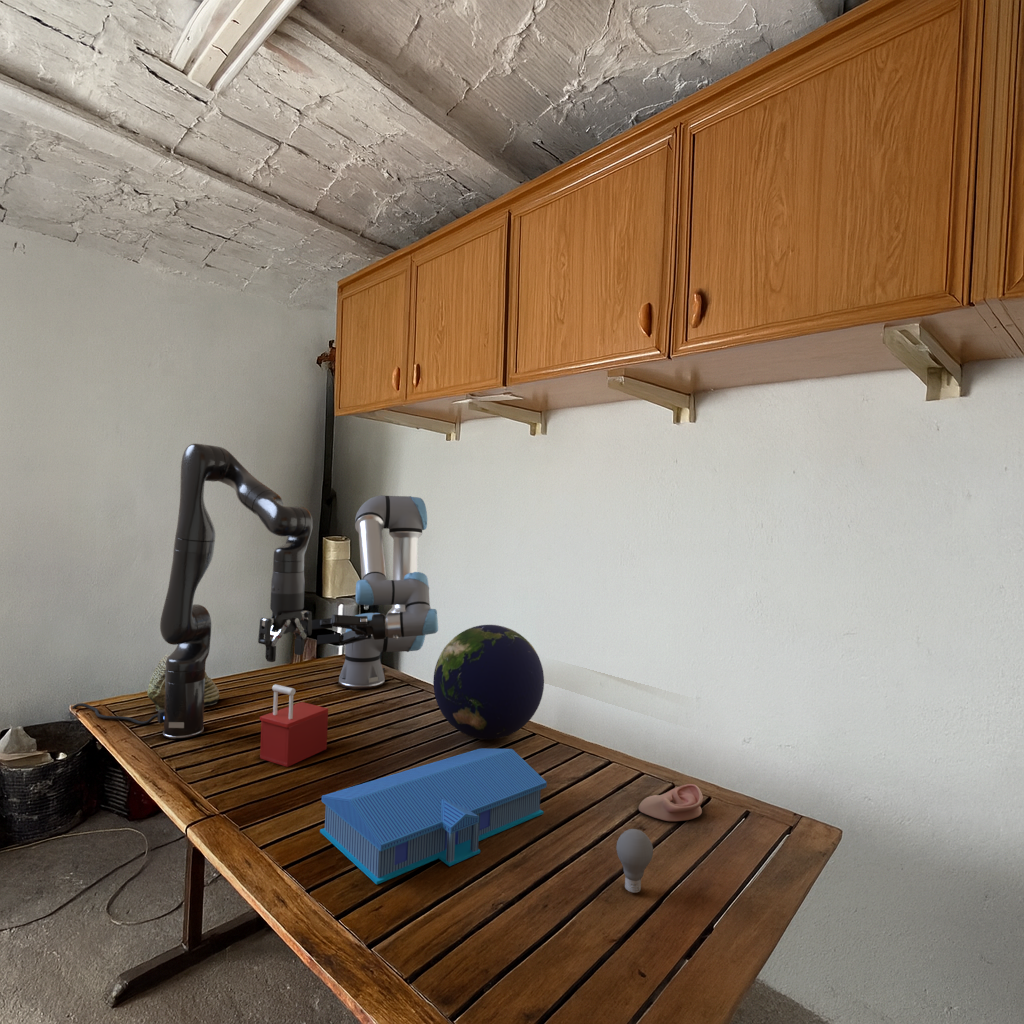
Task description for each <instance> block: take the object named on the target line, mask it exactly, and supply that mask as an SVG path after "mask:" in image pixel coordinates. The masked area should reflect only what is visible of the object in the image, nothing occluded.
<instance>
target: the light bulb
mask: <svg viewBox="0 0 1024 1024" xmlns="http://www.w3.org/2000/svg"><path fill="white" fill-rule="evenodd" d="M615 849H616V854H617V857H618V859H619V861H620V863H621V865H622V867H623V873H624V874H623V875H624V876H625V878H624V888H625V890H627V891H628V892H630V893H634V894H635V893H639V892H640V891H641V889H642V887H641V886H642V879H643V877H644V875H645V871H646V868H647V867H648V866H649V864H650V863H651V861H652V859H653V855H654V847H653V843H652V841H651V838H649V836H648V835H647V834H646V833H645V832H643V831H642V830H641V829H636V828H629V829H627V830H625V831H623V832H622V833H621V834H620V835H619V837H618V839H617V841H616V847H615Z"/></svg>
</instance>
